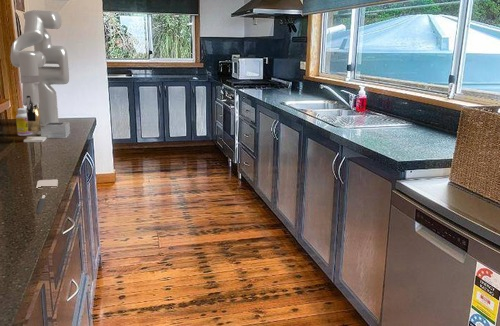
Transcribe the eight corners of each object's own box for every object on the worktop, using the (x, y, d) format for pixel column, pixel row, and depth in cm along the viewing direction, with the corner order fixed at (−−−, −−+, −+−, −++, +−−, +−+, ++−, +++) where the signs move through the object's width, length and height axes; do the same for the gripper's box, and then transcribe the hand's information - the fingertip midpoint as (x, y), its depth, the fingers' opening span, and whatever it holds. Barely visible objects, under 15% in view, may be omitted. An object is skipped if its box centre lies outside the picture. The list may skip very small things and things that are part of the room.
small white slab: (58, 183, 150) (58, 179, 150) (51, 214, 123) (50, 209, 123) (38, 184, 148) (37, 180, 148) (26, 216, 121) (25, 210, 121)
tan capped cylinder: (29, 129, 213) (27, 106, 210) (42, 129, 214) (40, 106, 212) (26, 131, 208) (24, 108, 205) (39, 131, 209) (37, 108, 206)
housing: (47, 133, 228) (46, 121, 227) (70, 133, 230) (69, 121, 229) (41, 138, 217) (40, 125, 215) (65, 138, 219) (65, 125, 217)
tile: (28, 138, 215) (28, 136, 215) (46, 138, 217) (46, 136, 217) (23, 142, 208) (23, 140, 207) (42, 141, 209) (42, 139, 209)
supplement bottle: (26, 136, 220) (24, 110, 217) (14, 135, 221) (11, 109, 218) (35, 134, 227) (33, 108, 223) (23, 133, 228) (21, 107, 225)
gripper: (26, 78, 213) (29, 117, 217) (15, 81, 197) (19, 123, 201) (43, 78, 214) (46, 117, 219) (34, 81, 198) (37, 122, 202)
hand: (33, 119), depth 210 cm, fingers closed on tan capped cylinder, 5 cm apart
